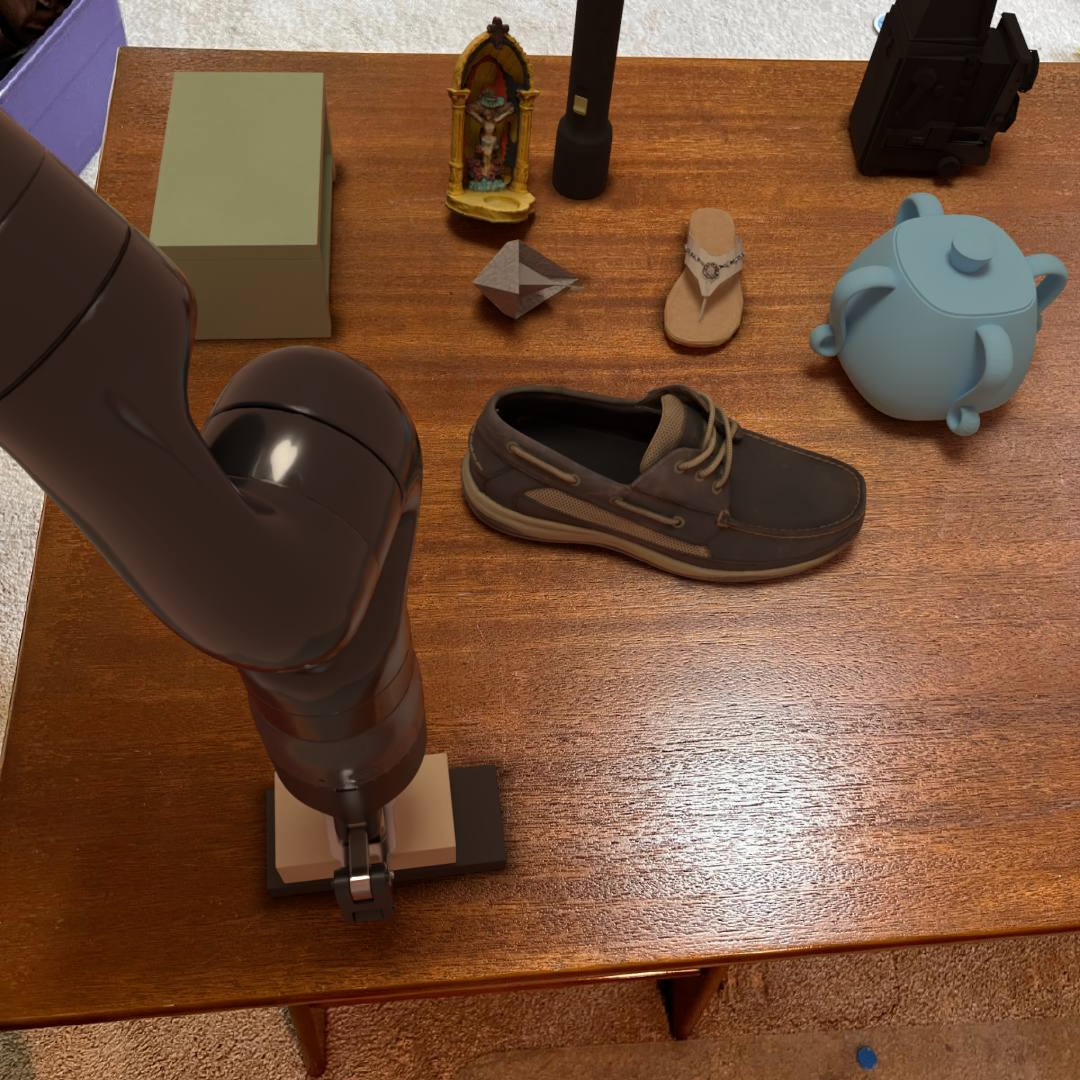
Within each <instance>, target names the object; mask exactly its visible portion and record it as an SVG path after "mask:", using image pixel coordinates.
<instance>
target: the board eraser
mask: <svg viewBox="0 0 1080 1080" xmlns="http://www.w3.org/2000/svg"><path fill="white" fill-rule="evenodd" d="M501 809H502V808H501V801H500V793H499V785H498V775H497V768H496V764H493V763H492V764H486V765H476V766H466V767H457V768H450V769H449V762H448V753H447V752H440V753H431V754H425V755H424V758H423V761H422V764H421V766H420V768H419V770H418V772H417V774H416V776H415V777H414V779H413V780H412V781H411V783H410V784H409V785H408V786H407V788H406V789H405V790H404V791H403V792H402V793H400V794H399V795H398V796H397V803H396V805H395V806H394V812H395V822H396V831H397V848H396V850H395V851H394V852H393V853H391V854H390V855H389V856H390V865H391V869H394V879H393V884H394V883H401V882H409V881H418V880H425V879H433V878H441V877H450V876H457V875H466V874H475V873H482V872H490V871H497V870H505V869H506V867H507V861H508V860H507V859H508V858H507V851H506V843H505V834H504V826H503V819H502V818H503V817H502V810H501ZM265 812H266V813H265V815H266V816H265V819H266V820H265V825H266V826H265V828H266V830H265V831H266V836H265V837H266V890H267V891H268V893H269V895H270V896H271V898H278V897H279V898H281V897H289V896H296V895H304V894H311V893H320V892H321V893H322V892H329V891H334V889H332V886H331V878H334V870H336V869H337V868H338V867H342V864H341V862H340V861H339V860H335V859H333V858H332V857H331V855H330V850H329V842H328V835H327V828H326V820H325V816H324V815H323V814H322V813H321V812H319V811H317V810H314V809H312V808H310V807H308V806H307V805H305V804H303V803H302V802H300V801H299V800H297V799H296V798H295V797H294V796H293V795H292V794H291V793H290V792H289V791H288V790H287V789H286V788H285V786H284V785H283V784H282V782H281V780H280V779H279V777H278V775H277V773H276V771H274V788H269V789H266V790H265ZM384 824H385V822H384V814H383V807H382V819H381V827H382V826H383V825H384ZM370 858H371V863H379V862H380V859H379V857H378V856H376V855H370Z"/></svg>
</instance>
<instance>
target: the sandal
mask: <svg viewBox="0 0 1080 1080" xmlns="http://www.w3.org/2000/svg"><path fill="white" fill-rule="evenodd" d="M685 241H686V242H685V244H684V251H685V257H684V264H685V267H684V270H683V271H682V272H681V274H680V275H679V276H678V278H677V279H676V281H675V282H674V283H673V286H672V287H671V289H670V291H669V293H668V295H667V297H666V300H665V305H664V308H663V309H664V310H663V330H664V332H665V334H666V336H667V337H668V339H669V340H670V341H672V342H673V343H675V344H678V345H680V346H681V345H682V346H684V347H689V348H704V349H705V348H706V349H707V348H712V347H719V346H720V345H722V344H724V343H725V342H727V341H729V340H730V339H732V337H733V335H734V334H735V333H736V331H737V330H738V329H739V328H740V325H741V320H742V316H743V310H744V297H743V290H742V286H741V280H740V279H741V278H740V271H741V270H743V268H744V262H743V261H744V258H743V257H745V255H746V252H745V250H744V249H743V239H742V237H741V236H740V235H738V234H737V235H736V228H735V223H734V220H733V216H731V214H730V213H729V212H728V211H725V210H724V209H720V208H715V207H699V208H698V209H696V210H694V211H693V212H691V213H690V216H689V218H688V224H687V233H686V240H685Z"/></svg>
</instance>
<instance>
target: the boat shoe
mask: <svg viewBox="0 0 1080 1080" xmlns="http://www.w3.org/2000/svg"><path fill="white" fill-rule="evenodd" d="M467 448H468V449H467V450H466V452H465V454H464V456H463V458H462V463H461V468H460V469H461V470H460V481H461V482H460V484H461V489H462V493H463V495H464V498H465V500H466V502H467V504H468V506H469V508H470V509H471V511H472V513H474V515H475V516H476V517H477V518H478V519H479V520H480V521H482V522H483V523H485V524H486V525H487V526H489V527H491V528H492V529H494V530H496V531H498V532H501V533H504V534H506V535H509V536H512V537H515V538H520V539H524V540H530V541H536V542H543V543H561V544H582V545H590V546H597V547H601V548H605V549H609V550H611V551H615V552H617V553H621V554H624V555H626V556H629V557H631V558H633V559H635V560H638V561H640V562H644V563H646V564H648V565H650V566H653V567H655V568H657V569H659V570H662V571H665V572H668V573H671V574H674V575H678V576H682V577H686V578H690V579H695V580H701V581H710V582H711V581H712V582H717V583H740V582H750V581H762V580H770V579H777V578H782V577H786V576H791V575H794V574H797V573H801V572H804V571H807V570H810V569H812V568H815V567H817V566H820V565H821V564H823V563H826V562H827V561H829V560H830V559H833V557H835V556H836V555H838V554H840V553H841V552H842V551H844V550H845V549H847V547H848V546H850V545H851V544H852V543H853V542H854V541H855V540H856V538H857V537H858V535H859V533H860V531H861V529H862V526H863V524H864V521H865V517H866V512H867V511H866V510H867V509H866V508H867V493H868V491H867V483H866V480H865V476H864V475H863V474H861V473H860V472H859V470H858V469H856V468H855V467H854V466H852V465H850V464H849V463H847V462H845V461H843V460H840V459H838V458H834V457H832V456H829V455H826V454H822V453H819V452H817V451H812V450H809V449H805V448H804V447H803V448H802V447H799V446H796V445H793V444H790V443H787V442H784V441H781V440H778V439H776V438H773V437H771V436H768V435H764V434H761V433H758V432H756V431H753V430H750V429H747V428H744V427H742V426H741V425H740V423H739V422H738V421H737V420H734V419H733V418H730V417H729V416H728V415H727V413H726V410H724V409H723V408H722V407H721V406H719V405H715V403H714V401H713V399H712V398H711V397H710V395H708V394H707V393H705V392H703V391H696V390H693V389H692V388H690V387H688V386H686V385H683V384H670V385H665V386H662V387H657V388H653V389H651V390H648V392H647V394H645V395H644V396H643V397H641V398H627V397H619V396H612V395H606V394H601V393H596V392H591V391H584V390H577V389H573V388H569V387H566V386H562V385H555V386H553V385H538V384H537V385H534V384H533V385H532V384H531V385H530V384H523V385H513V386H507V387H505V388H502V389H500V390H497V391H496V392H495V393H493V394H492V395H491V396H490V398H489V399H488V400H487V402H486V403H485V405H484V407H483V409H482V412H481V413H480V415H479V416H478V417H477V419H476V421H474V423H473V425H472V426H471V427H470V430H469V432H468V437H467Z"/></svg>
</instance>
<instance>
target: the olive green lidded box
mask: <svg viewBox="0 0 1080 1080" xmlns="http://www.w3.org/2000/svg"><path fill="white" fill-rule="evenodd" d="M330 121H331V120H330V114H329V106H328V97H327V90H326V81H325V73H324V72H300V71H299V72H294V71H293V72H291V71H287V72H286V71H285V72H283V71H281V72H280V71H279V72H277V71H274V72H273V71H259V72H258V71H174V73H173V80H172V86H171V92H170V100H169V106H168V112H167V119H166V126H165V132H164V139H163V145H162V151H161V158H160V166H159V173H158V177H157V184H156V191H155V197H154V205H153V211H152V217H151V224H150V231H149V236H148V239H150V240H151V241H152V242H153V243H154V244H155V245H156V246H157V247H158V248H159V249H160V250H161V251H162V252H163V253H165V254H166V255H167V256H168V257H169V258H170V259H171V261H172V262H173V263H174V264H175V265H176V266H177V267H178V268H179V269H180V270H181V272H182V273H183V274H184V275H185V277H186V278H187V280H188V281H189V283H190V284H191V287H192V289H193V291H194V293H195V297H196V301H197V308H198V320H197V327H196V334H195V340H194V341H202V340H205V341H206V340H256V339H257V340H258V339H259V340H260V339H262V340H263V339H266V340H267V339H268V340H269V339H318V338H319V339H320V338H331V337H332V319H331V312H330V311H331V310H330V282H331V281H330V277H331V276H330V275H331V243H332V213H333V212H332V207H333V183H335V182H336V163H335V155H334V147H333V139H332V131H331V122H330Z"/></svg>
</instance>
